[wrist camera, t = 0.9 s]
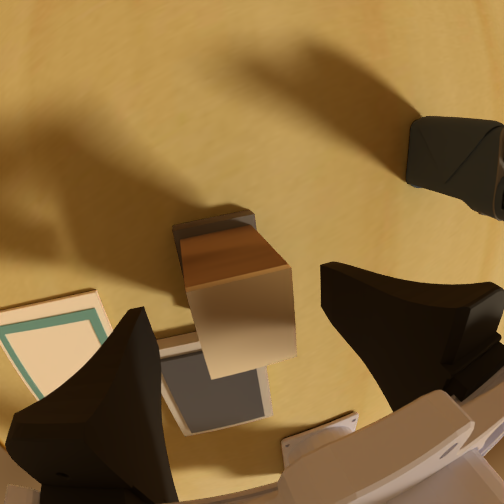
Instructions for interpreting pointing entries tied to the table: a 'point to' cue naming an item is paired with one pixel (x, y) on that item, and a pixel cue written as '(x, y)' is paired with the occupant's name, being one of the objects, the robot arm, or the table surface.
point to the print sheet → (53, 339)
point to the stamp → (236, 293)
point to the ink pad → (209, 389)
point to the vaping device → (459, 161)
